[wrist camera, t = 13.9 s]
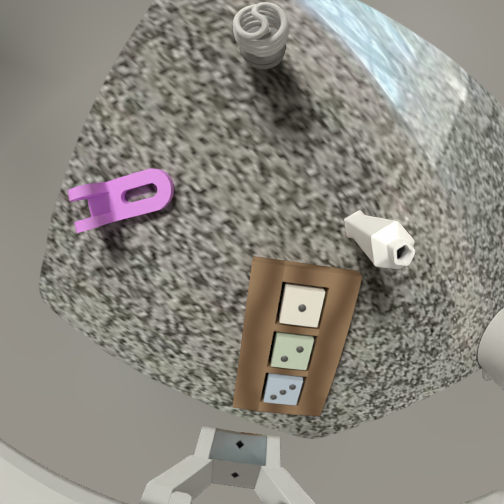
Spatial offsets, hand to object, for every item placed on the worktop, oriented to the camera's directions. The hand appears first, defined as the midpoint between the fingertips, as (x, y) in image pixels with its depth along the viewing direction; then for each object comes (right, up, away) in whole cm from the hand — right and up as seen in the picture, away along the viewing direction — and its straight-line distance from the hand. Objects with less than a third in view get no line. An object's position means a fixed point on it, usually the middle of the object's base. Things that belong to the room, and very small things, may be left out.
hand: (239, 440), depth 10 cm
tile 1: (+7, +1, +30) cm, 31 cm away
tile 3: (+5, -13, +33) cm, 36 cm away
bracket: (-16, +15, +29) cm, 36 cm away
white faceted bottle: (+14, +11, +28) cm, 33 cm away
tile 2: (+6, -6, +32) cm, 33 cm away
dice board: (+6, -6, +32) cm, 33 cm away
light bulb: (+2, +32, +23) cm, 40 cm away
